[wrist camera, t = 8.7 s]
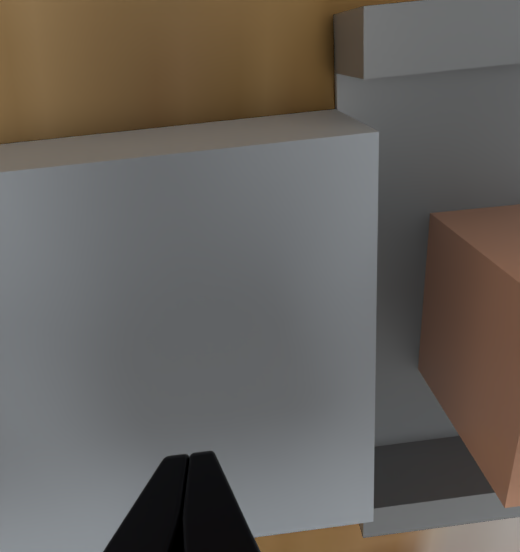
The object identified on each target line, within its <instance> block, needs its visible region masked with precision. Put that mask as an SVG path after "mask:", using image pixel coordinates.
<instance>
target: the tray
mask: <svg viewBox="0 0 520 552" xmlns="http://www.w3.org/2000/svg"><path fill="white" fill-rule="evenodd" d="M333 25H334V70H335V109H336V110H338V111H340V112H342V113H344V114H346V115H348V116H350V117H352V118H354V119H355V120H357V121H359V122H361V123H363V124H365V125H367V126H369V127H371V128H373V129H375V130H377V131H378V132H379V167H378V236H377V306H376V375H375V445H374V514H373V522H367V523H359V526H360V529H361V532H362V536H363V538H365V537H373V536H380V535H388V534H395V533H403V532H410V531H418V530H425V529H432V528H440V527H447V526H455V525H462V524H470V523H477V522H485V521H492V520H500V519H507V518H515V517H520V506H517V507H509V508H504V506H503V505H502V503H501V501H500V500H499V498H498V497H497V495H496V493H495V492H494V490H493V489H492V487H491V485H490V484H489V482H488V481H487V479H486V477H485V476H484V474H483V473H482V471H481V469H480V468H479V466H478V464H477V463H476V461H475V460H474V458H473V456H472V455H471V453H470V452H469V450H468V448H467V447H466V445H465V444H464V442H463V440H462V439H461V437H460V436H459V434H458V432H457V431H456V429H455V428H454V426H453V424H452V423H451V421H450V420H449V418H448V416H447V415H446V413H445V412H444V410H443V408H442V407H441V405H440V403H439V402H438V400H437V399H436V397H435V395H434V394H433V392H432V391H431V389H430V387H429V386H428V384H427V383H426V381H425V379H424V378H423V376H422V375H421V373H420V371H419V370H418V362H419V349H420V336H421V323H422V310H423V298H424V285H425V272H426V259H427V246H428V234H429V221H430V213H436V212H446V211H456V210H467V209H477V208H487V207H497V206H507V205H517V204H520V0H422V1H411V2H401V3H391V4H381V5H371V6H363V7H359V8H356V9H352V10H349V11H345V12H342V13H338V14H334V15H333Z"/></svg>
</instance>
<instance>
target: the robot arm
mask: <svg viewBox="0 0 520 552" xmlns="http://www.w3.org/2000/svg"><path fill="white" fill-rule="evenodd" d="M103 552H260V550H259V548H258V545H257V543H256V541H255V539H254V537H253V535H252V532H251V530H250V528H249V526H248V524H247V522H246V519H245V517H244V515H243V513H242V511H241V509H240V506H239V504H238V502H237V500H236V498H235V496H234V493H233V491H232V489H231V487H230V485H229V483H228V480H227V478H226V476H225V474H224V472H223V470H222V467H221V465H220V463H219V461H218V459H217V457H216V454H215V453H214V452H213V451H203V452H194V453H192V454H191V455H190V456H189V455H187V454H178V455H170V456H166V457H165V458H164V459H163V460H162V461H161V463H160V464H159V466H158V467H157V469H156V470H155V472H154V474H153V475H152V477H151V478H150V480H149V481H148V483H147V484H146V486H145V487H144V489H143V491H142V492H141V494H140V495H139V497H138V498H137V500H136V501H135V503H134V504H133V506H132V508H131V509H130V511H129V512H128V514H127V515H126V517H125V518H124V520H123V521H122V523H121V524H120V526H119V528H118V529H117V531H116V532H115V534H114V535H113V537H112V538H111V540H110V541H109V543H108V545H107V546H106V548H105V549H104V551H103Z"/></svg>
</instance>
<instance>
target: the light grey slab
mask: <svg viewBox="0 0 520 552" xmlns="http://www.w3.org/2000/svg"><path fill="white" fill-rule="evenodd" d="M378 167H379V132H378V131H377V130H375V129H373V128H371V127H369V126H367V125H365V124H363V123H361V122H359V121H357V120H355V119H354V118H352V117H350V116H348V115H346V114H344V113H342V112H340V111H338V110H336V109H331V110H321V111H312V112H302V113H293V114H283V115H274V116H264V117H255V118H245V119H236V120H226V121H217V122H207V123H198V124H188V125H179V126H169V127H160V128H150V129H141V130H131V131H122V132H112V133H103V134H93V135H84V136H74V137H65V138H55V139H46V140H36V141H27V142H17V143H8V144H0V552H103V551H104V549H105V548H106V546H107V545H108V543H109V541H110V540H111V538H112V537H113V535H114V534H115V532H116V531H117V529H118V528H119V526H120V524H121V523H122V521H123V520H124V518H125V517H126V515H127V514H128V512H129V511H130V509H131V508H132V506H133V504H134V503H135V501H136V500H137V498H138V497H139V495H140V494H141V492H142V491H143V489H144V487H145V486H146V484H147V483H148V481H149V480H150V478H151V477H152V475H153V474H154V472H155V470H156V469H157V467H158V466H159V464H160V463H161V461H162V460H163V459H164V458H165V457H166V456H170V455H178V454H187V455H189V456H190V455H191V454H192V453H194V452H203V451H213V452H214V453H215V454H216V457H217V459H218V461H219V463H220V465H221V467H222V470H223V472H224V474H225V476H226V478H227V480H228V483H229V485H230V487H231V489H232V491H233V493H234V496H235V498H236V500H237V502H238V504H239V506H240V509H241V511H242V513H243V515H244V517H245V519H246V522H247V524H248V526H249V528H250V530H251V532H252V535H253V537H261V536H269V535H276V534H284V533H292V532H299V531H307V530H314V529H322V528H329V527H337V526H344V525H352V524H359V523H367V522H373V514H374V445H375V375H376V306H377V236H378Z"/></svg>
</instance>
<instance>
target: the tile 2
mask: <svg viewBox="0 0 520 552" xmlns="http://www.w3.org/2000/svg"><path fill="white" fill-rule="evenodd" d="M418 370H419V371H420V373H421V375H422V376H423V378H424V379H425V381H426V383H427V384H428V386H429V387H430V389H431V391H432V392H433V394H434V395H435V397H436V399H437V400H438V402H439V403H440V405H441V407H442V408H443V410H444V412H445V413H446V415H447V416H448V418H449V420H450V421H451V423H452V424H453V426H454V428H455V429H456V431H457V432H458V434H459V436H460V437H461V439H462V440H463V442H464V444H465V445H466V447H467V448H468V450H469V452H470V453H471V455H472V456H473V458H474V460H475V461H476V463H477V464H478V466H479V468H480V469H481V471H482V473H483V474H484V476H485V477H486V479H487V481H488V482H489V484H490V485H491V487H492V489H493V490H494V492H495V493H496V495H497V497H498V498H499V500H500V501H501V503H502V505H503V506H504V508H509V507H517V506H520V204H517V205H507V206H497V207H487V208H477V209H467V210H456V211H446V212H436V213H430V221H429V234H428V246H427V259H426V272H425V285H424V298H423V310H422V323H421V336H420V349H419V362H418Z"/></svg>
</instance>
